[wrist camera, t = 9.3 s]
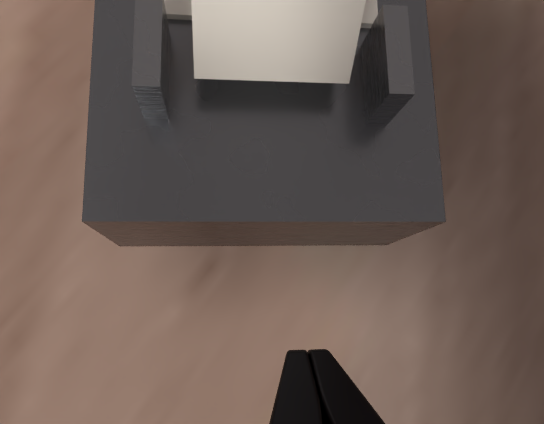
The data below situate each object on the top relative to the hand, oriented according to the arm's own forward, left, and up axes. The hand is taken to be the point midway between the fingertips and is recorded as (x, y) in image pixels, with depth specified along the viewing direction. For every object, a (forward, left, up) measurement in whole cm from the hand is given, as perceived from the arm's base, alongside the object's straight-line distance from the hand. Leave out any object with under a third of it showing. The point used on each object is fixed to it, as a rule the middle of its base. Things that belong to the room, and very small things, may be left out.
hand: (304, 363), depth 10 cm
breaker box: (+6, -6, -11) cm, 14 cm away
